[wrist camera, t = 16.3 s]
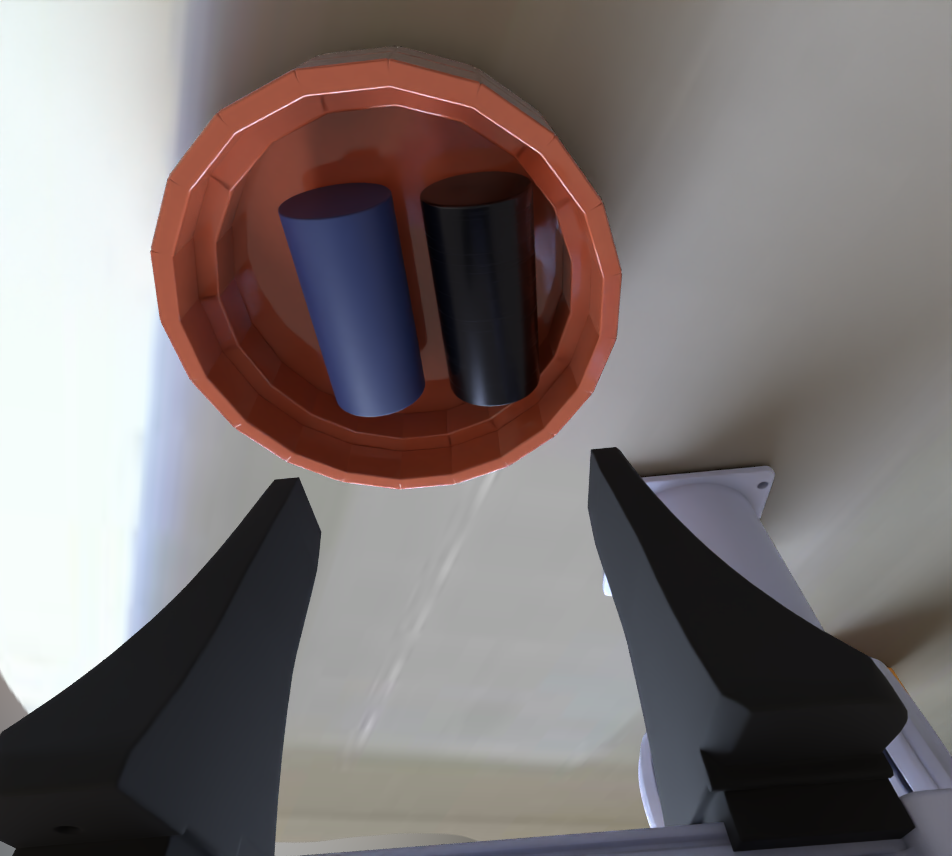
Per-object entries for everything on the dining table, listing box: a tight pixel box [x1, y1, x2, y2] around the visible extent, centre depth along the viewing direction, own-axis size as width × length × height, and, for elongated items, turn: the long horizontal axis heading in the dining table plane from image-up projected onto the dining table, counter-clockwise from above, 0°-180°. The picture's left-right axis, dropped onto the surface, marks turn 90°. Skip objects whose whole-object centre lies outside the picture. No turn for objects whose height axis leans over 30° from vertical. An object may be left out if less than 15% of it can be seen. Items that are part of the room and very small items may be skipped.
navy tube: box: [278, 183, 425, 417], centre depth 19 cm, size 7×3×3 cm
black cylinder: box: [420, 171, 540, 407], centre depth 19 cm, size 7×3×3 cm, turn 6°
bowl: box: [150, 46, 622, 489], centre depth 19 cm, size 14×14×4 cm
